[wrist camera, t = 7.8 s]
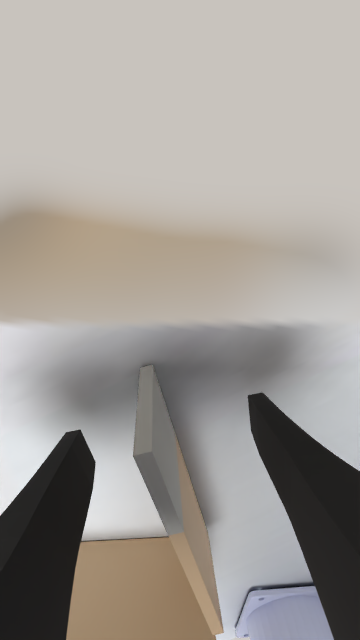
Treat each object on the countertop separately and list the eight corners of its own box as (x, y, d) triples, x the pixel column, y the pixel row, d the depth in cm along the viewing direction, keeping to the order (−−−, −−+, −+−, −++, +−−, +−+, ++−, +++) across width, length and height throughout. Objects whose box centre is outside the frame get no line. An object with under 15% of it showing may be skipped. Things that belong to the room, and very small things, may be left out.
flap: (207, 532, 19) (223, 632, 14) (199, 534, 19) (212, 635, 14) (152, 364, 13) (152, 451, 8) (140, 367, 13) (132, 455, 8)
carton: (201, 535, 19) (216, 643, 15) (190, 591, 22) (200, 694, 18) (53, 543, 18) (18, 663, 13) (64, 601, 21) (39, 714, 17)
